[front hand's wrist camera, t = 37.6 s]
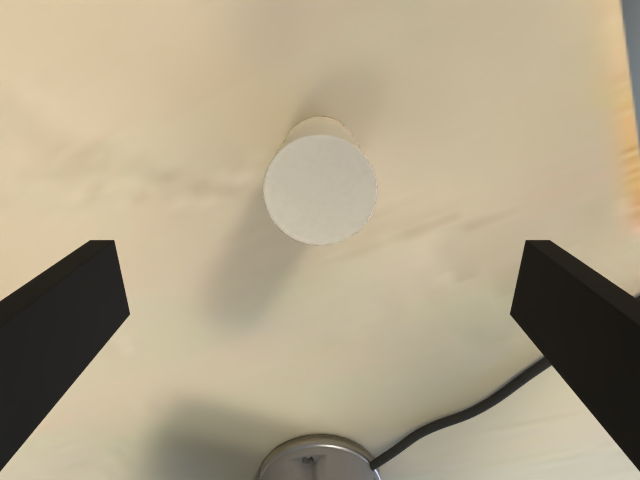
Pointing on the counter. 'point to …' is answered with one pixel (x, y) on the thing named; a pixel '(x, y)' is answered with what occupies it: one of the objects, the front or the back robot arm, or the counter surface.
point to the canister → (320, 183)
